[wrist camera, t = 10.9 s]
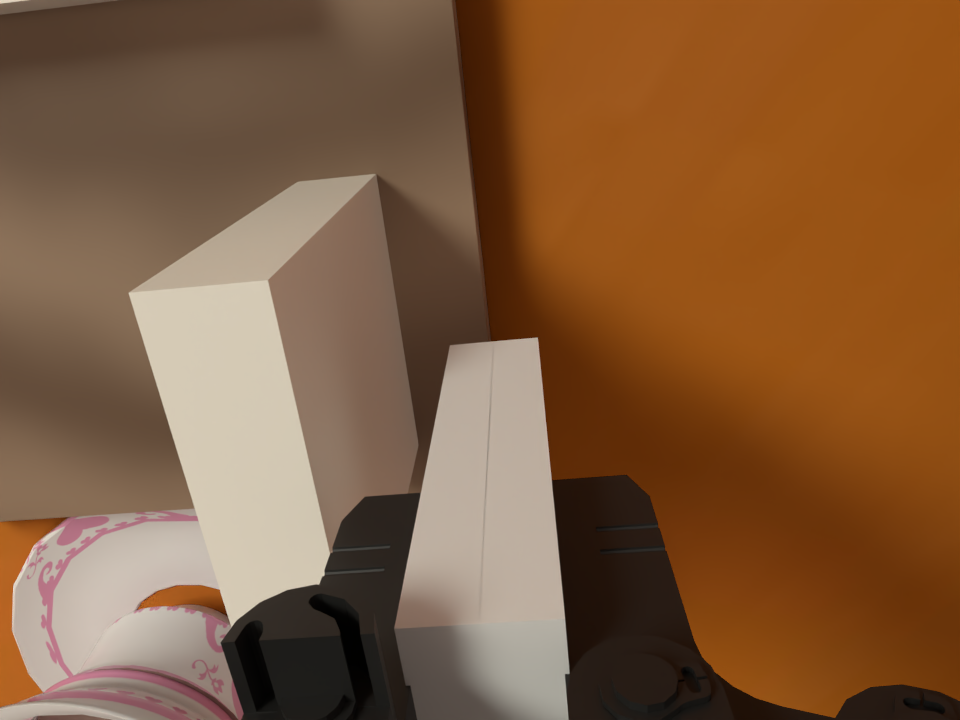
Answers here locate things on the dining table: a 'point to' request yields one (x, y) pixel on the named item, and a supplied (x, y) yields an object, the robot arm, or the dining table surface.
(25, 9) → the tile
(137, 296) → the tile
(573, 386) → the dining table surface
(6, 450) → the walnut board
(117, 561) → the teacup
